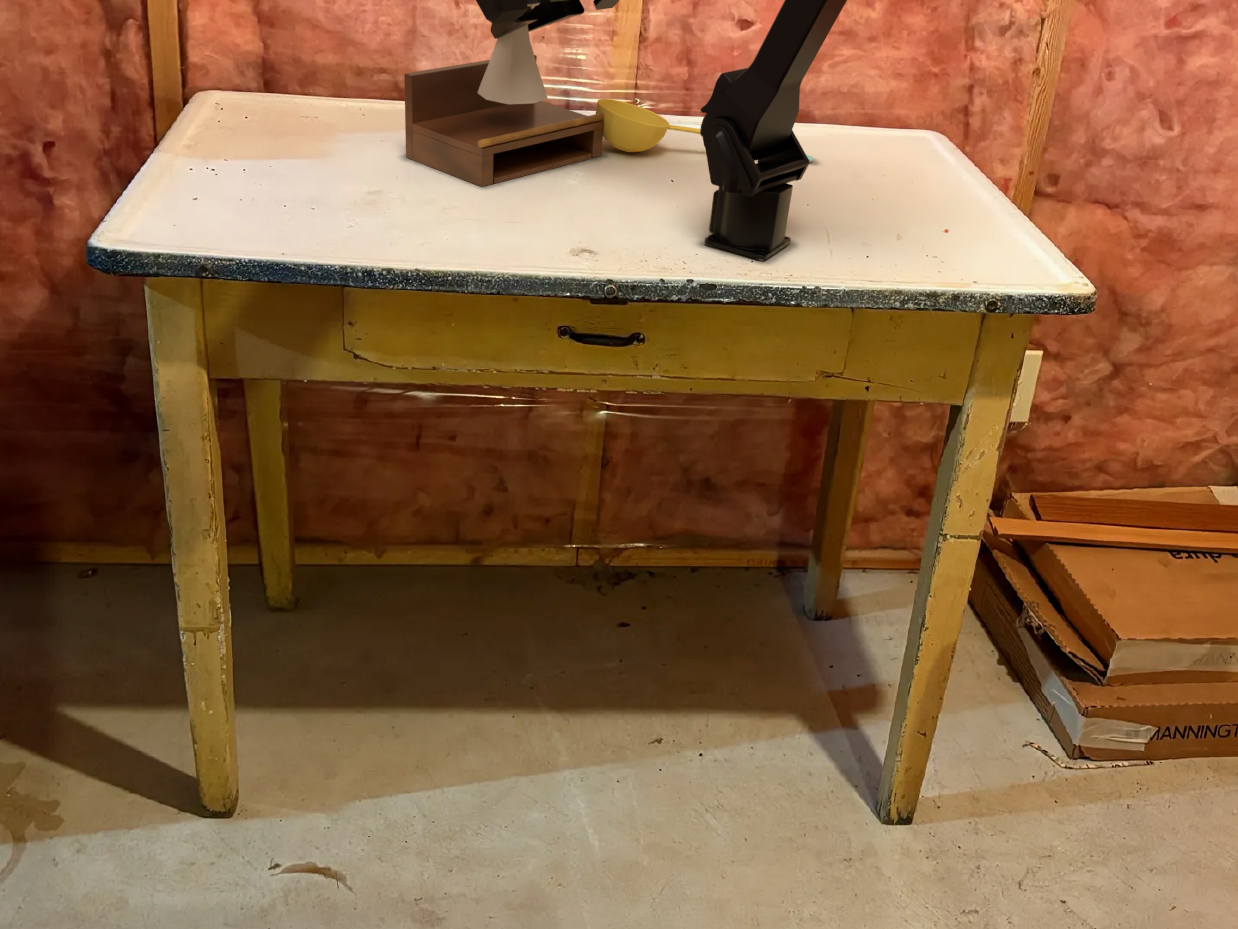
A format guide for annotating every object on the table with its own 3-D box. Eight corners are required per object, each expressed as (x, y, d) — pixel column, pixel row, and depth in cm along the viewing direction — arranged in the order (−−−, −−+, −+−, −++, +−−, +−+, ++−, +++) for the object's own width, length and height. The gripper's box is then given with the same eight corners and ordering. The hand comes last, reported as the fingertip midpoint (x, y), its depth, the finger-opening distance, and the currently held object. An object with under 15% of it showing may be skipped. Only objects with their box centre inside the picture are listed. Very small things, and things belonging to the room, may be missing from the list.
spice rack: (601, 155, 132) (607, 75, 127) (481, 186, 119) (483, 99, 115) (526, 130, 138) (529, 52, 134) (405, 157, 126) (403, 73, 121)
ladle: (585, 129, 137) (599, 82, 135) (788, 190, 142) (806, 146, 140) (587, 148, 130) (602, 98, 127) (802, 212, 135) (821, 165, 132)
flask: (507, 110, 121) (509, 9, 115) (465, 94, 125) (465, -3, 120) (559, 101, 125) (563, 4, 120) (517, 87, 129) (519, -8, 124)
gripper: (609, -139, 117) (530, -38, 129) (475, -138, 104) (400, -27, 116) (662, -44, 117) (577, 48, 128) (533, -32, 104) (453, 68, 116)
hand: (504, 32), depth 122 cm, fingers closed on flask, 3 cm apart
